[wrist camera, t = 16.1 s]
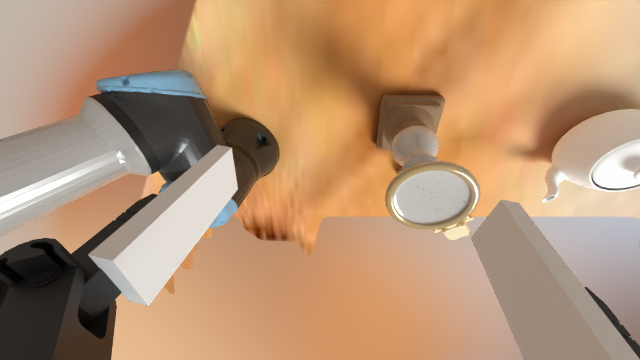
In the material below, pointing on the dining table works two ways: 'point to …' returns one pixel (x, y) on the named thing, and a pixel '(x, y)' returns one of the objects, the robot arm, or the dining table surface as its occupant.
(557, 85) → the dining table surface
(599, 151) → the teapot
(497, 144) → the dining table surface
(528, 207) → the dining table surface
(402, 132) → the candle holder
